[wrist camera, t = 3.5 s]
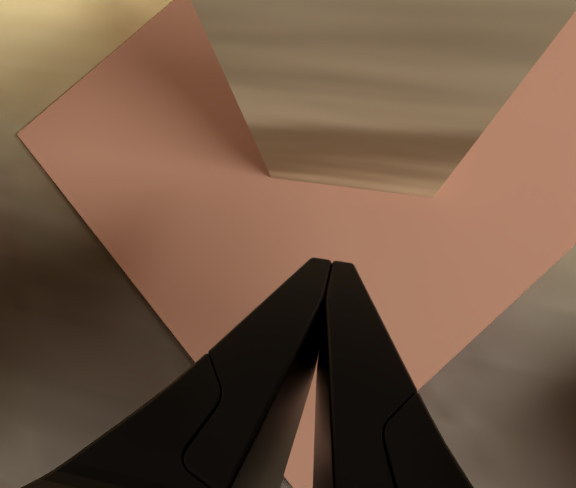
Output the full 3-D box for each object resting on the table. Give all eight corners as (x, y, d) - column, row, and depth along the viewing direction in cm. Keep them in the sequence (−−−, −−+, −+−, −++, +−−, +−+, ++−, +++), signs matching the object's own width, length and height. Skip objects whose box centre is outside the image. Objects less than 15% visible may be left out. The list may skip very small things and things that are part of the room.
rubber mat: (302, 493, 14) (301, 498, 14) (23, 138, 18) (17, 134, 18) (718, 108, 15) (727, 102, 15) (367, -156, 19) (368, -166, 19)
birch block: (432, 197, 15) (600, -23, 6) (271, 177, 16) (171, -44, 6) (444, 96, 16) (613, -259, 6) (288, 82, 17) (222, -251, 7)
